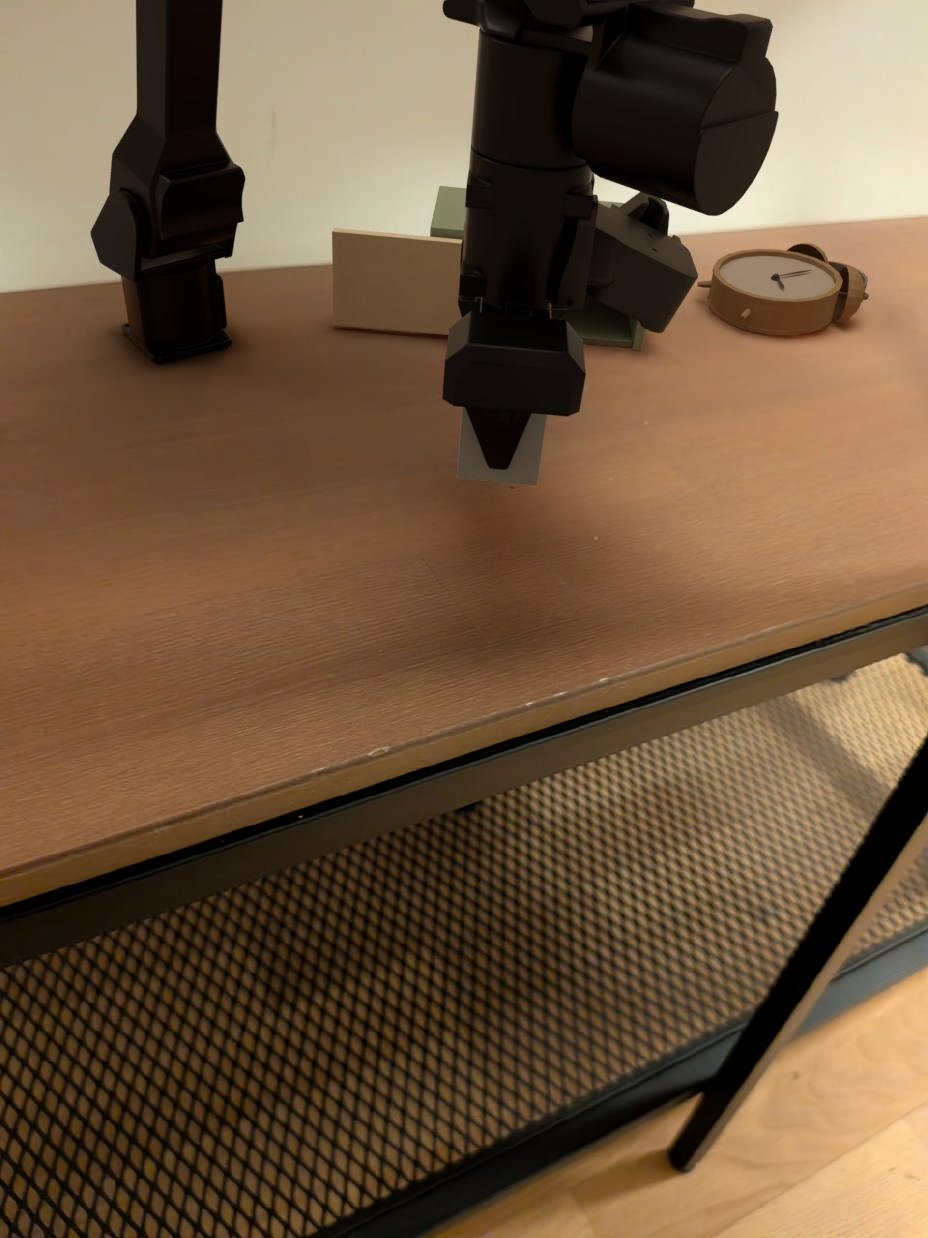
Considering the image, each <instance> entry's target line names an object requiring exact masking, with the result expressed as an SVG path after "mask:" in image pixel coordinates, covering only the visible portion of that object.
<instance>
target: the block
mask: <svg viewBox="0 0 928 1238" xmlns="http://www.w3.org/2000/svg"><path fill="white" fill-rule="evenodd" d="M460 416H461V417H460V426H459V427H460V429H459V439H458V440H459V441H458V451H457V452H458V453H457V465H456V466H457V467H456V479H459V480H460V479H461V480H472V481H483V482H492V483H493V482H494V483H505V484H516V485H517V484H518V485H526V486H537V484H538V479H539V474H540V473H539V472H540V465H541V460H542V453H543V446H544V439H545V433H546V426H547V419H548V415H544V414H533V413H532V414H531V416H530V419H529V421H528V423H527V426H526V428H525V430H524V433H523V435H522V437H521V440H520V442H519V444H518V447H517V449H516V451H515V454H514V456H513V459H512V461H511V463H510V466H509V468H508V469H506V470H499V469H491V468H489V467H488V465H487V463H486V460H485V458H484V455H483V453H482V450H481V447H480V445H479V442H478V440H477V437H476V434H475V432H474V429H473V427H472V424H471V422H470V419H469V417H468V414H467V412H466V409H465V407H461V415H460Z"/></svg>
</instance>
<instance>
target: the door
mask: <svg viewBox="0 0 928 1238" xmlns="http://www.w3.org/2000/svg"><path fill="white" fill-rule="evenodd" d="M461 245H462V240H461V239H450V238H439V237H430V235H429V236H428V235H419V234H417V235H415V234H406V233H394V232H385V231H374V230H362V229H354V228H353V229H351V228H341V227H332V230H331V252H332V253H331V256H332V257H331V261H332V262H331V263H332V309H333V310H332V312H333V313H332V314H333V315H332V316H333V317H332V318H333V325H335V326H345V327H346V326H347V327H348V326H349V327H357V328H371V329H377V330H390V331H402V332H411V333H423V334H436V335H445V336H449V329H450V328H451V327H452V326H453V325H454V324H455V323H457V322H458V321H459V320H460V319H462V317H461V313H460V309H459V305H458V296H459V282H460V271H461V270H460V259H461Z"/></svg>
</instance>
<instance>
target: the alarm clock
mask: <svg viewBox="0 0 928 1238" xmlns="http://www.w3.org/2000/svg"><path fill="white" fill-rule="evenodd" d="M868 282H869V278H868V276H867V275H866V274H865V273H864V272H863V271H861V270H860V269H859V268H856V267H855V266H852V265H849V264H847V263H842V262H838V261H832V260H829V259H828V257H827V255H826V253H825V251H824V250H823V249H822V248H821V247H820V246H818V245H816V244H814V243H811V242H810V243H809V242H801V243H797V244H793V245H792V246H790V247H789V248H788V249H786V250H783V249H778V248H777V249H775V248H774V249H773V248H753V249H752V248H751V249H743V250H739V251H735V252H731V253H727V254H725V255H724V256H722V257H719V258H718V259H717V260H716V261H715V263H714V265H713V267H712V275H711V280H701V281H698V282H697V287H699V288H703V289H709V291H708V295H707V298H706V299H707V300H706V301H707V306H708V309H709V310H710V311H711V312H712V313H713V314H714V316H716V318H718V319H720V320H722V321H723V322H725V323H727V324H728V325H730V326H734V327H737V328H740V329H743V330H746V331H749V332H753V333H759V334H766V335H776V336H777V335H778V336H779V335H780V336H793V335H803V334H808V333H812V332H815V331H818V330H822V329H823V328H825V327H826V326H827V325H828V324H830V323H831V322H832V321H834V322H844V321H847V320H849V319H851V318H853V316H854V315H855V314H856V313H857V312H858V311H859V309H860V307H861V306H862V304H863V302H864V301H866V300H869V297H870V294H869V293H868V292H866V290H867V286H868Z"/></svg>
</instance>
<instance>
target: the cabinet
mask: <svg viewBox="0 0 928 1238" xmlns="http://www.w3.org/2000/svg"><path fill="white" fill-rule="evenodd" d="M465 200H466V187H457V186H448V185H447V186H446V185H439V186H438V191H437V194H436V200H435V204H434V209H433V212H432V213H433V214H432V217H431V218H432V219H431V223H430V230H429V231H430V232H429V233H430V234H429V237H439V238H450V239H461V240H462V237H463V230H464V223H465V217H466V207H465ZM598 202H599V203H600V204H602V205H604V206H606V207H608V208H610V207H611V205H612V204H614V205H616V206H618V207H620V206H622V205H623V204H624V203H625V202H618V201H608V200H607V201H606V200H598ZM560 320H566V321H567V322H568V323H569V324H570V326H571V327H572V328H573V329H574V331H575V332H576V333H577V334H578V336H579V337H580V338H581V339H582V340H583V345H584V344H585V345H595V346H606V347H616V348H618V347H619V348H627V349H631V350H632V351H639V352H641V351H642V350H643V345H644V342H645V341H644V340H645V335H646V331H647V329H645V328H643V327H641V325H640V322H639V321H638V320H636V319H633V318H631V317H629V316H627V315H625V314H623V313H621V312H619V311H617V310H614V309H612V308H610V307H608V306H606V305H604V304H602V303H600V302H598V301H596V300H594V299H593V298H591V297H590V296H589V295H588V294H587V293H586V294H585V300H584V306H583V310H572V309H568V311H567V313H566V314H565V315H564V316H563V317H562V318H561V319H560Z"/></svg>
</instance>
